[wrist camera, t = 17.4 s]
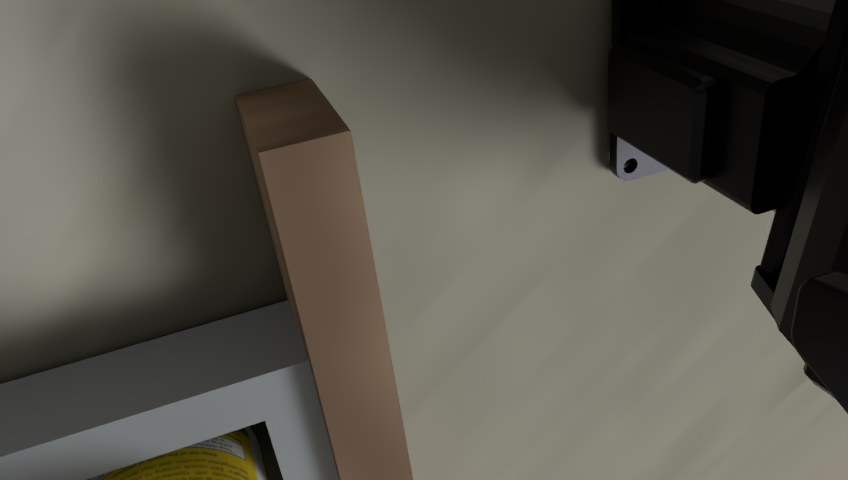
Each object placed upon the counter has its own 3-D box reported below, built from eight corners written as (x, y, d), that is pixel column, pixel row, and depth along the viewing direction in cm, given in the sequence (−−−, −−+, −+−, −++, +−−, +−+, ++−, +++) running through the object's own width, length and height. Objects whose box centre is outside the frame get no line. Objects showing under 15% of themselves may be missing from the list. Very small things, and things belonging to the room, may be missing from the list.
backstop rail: (311, 79, 19) (350, 130, 16) (414, 592, 31) (449, 684, 27) (234, 96, 19) (258, 152, 15) (368, 611, 30) (398, 707, 27)
